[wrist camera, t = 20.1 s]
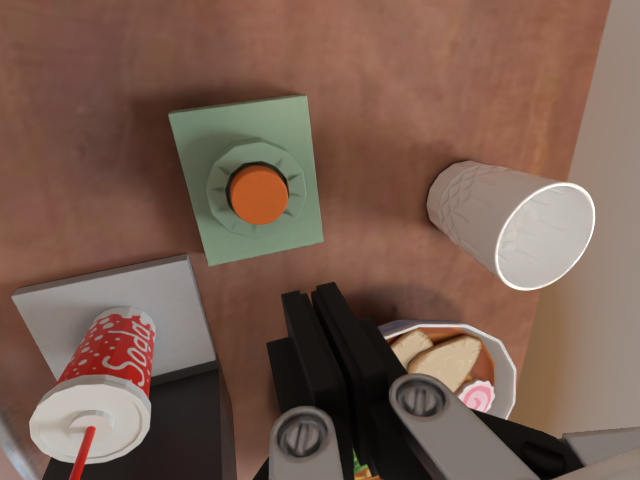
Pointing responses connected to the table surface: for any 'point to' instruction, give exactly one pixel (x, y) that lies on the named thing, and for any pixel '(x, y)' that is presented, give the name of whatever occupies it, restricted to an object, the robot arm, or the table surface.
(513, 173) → the white cup
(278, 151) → the brew pad
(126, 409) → the beverage cup
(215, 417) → the coffee maker
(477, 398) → the ramen bowl
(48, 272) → the table surface
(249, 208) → the button
